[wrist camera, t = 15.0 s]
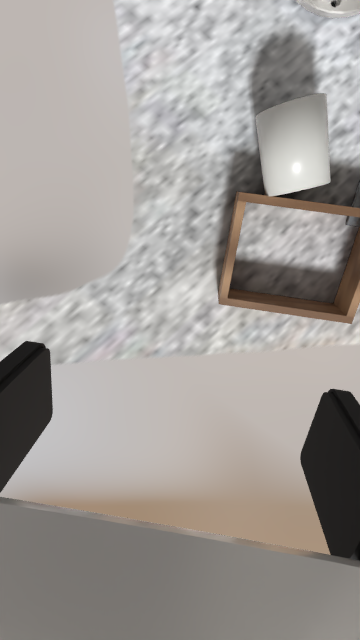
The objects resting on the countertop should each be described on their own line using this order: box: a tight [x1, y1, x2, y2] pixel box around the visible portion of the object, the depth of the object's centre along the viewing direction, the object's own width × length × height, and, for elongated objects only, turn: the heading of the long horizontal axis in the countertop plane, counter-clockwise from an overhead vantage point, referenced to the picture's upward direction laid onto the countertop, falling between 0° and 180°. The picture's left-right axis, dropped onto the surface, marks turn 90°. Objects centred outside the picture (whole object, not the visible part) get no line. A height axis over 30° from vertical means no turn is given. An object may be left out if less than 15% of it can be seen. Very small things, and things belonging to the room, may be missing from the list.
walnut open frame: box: [218, 192, 360, 324], centre depth 34 cm, size 12×15×4 cm
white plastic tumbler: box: [255, 93, 331, 197], centre depth 29 cm, size 7×6×6 cm
